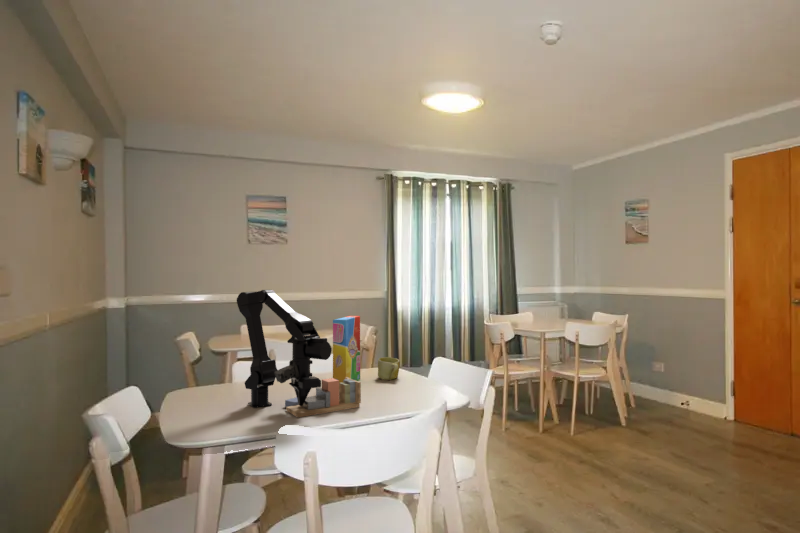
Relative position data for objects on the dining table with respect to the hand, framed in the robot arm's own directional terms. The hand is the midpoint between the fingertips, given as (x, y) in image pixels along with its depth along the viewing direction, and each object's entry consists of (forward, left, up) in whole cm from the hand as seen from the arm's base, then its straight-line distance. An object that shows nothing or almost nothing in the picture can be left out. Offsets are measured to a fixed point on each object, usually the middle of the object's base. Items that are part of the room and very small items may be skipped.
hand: (300, 405), depth 164 cm
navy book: (-9, +2, -2) cm, 9 cm away
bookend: (0, +5, -1) cm, 5 cm away
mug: (-28, +52, -3) cm, 59 cm away
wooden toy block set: (0, +8, -2) cm, 9 cm away
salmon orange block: (0, +11, -1) cm, 11 cm away
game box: (-29, +32, -3) cm, 43 cm away
